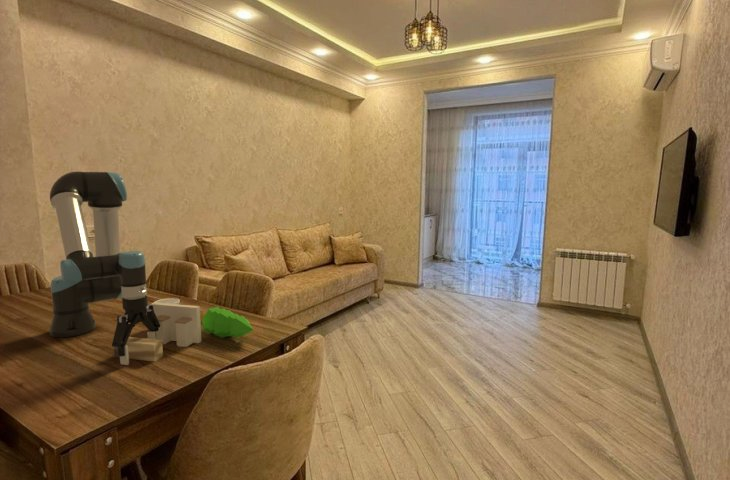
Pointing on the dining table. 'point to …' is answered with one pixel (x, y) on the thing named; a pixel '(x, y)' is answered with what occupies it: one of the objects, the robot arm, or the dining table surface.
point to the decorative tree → (224, 323)
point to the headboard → (178, 323)
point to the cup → (168, 301)
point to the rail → (143, 349)
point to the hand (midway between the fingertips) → (139, 356)
